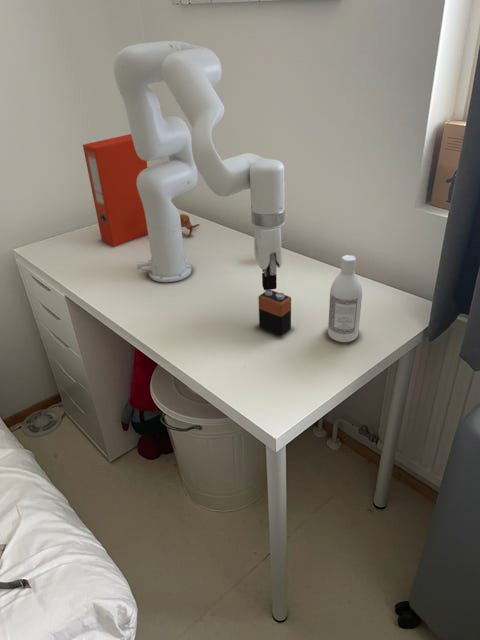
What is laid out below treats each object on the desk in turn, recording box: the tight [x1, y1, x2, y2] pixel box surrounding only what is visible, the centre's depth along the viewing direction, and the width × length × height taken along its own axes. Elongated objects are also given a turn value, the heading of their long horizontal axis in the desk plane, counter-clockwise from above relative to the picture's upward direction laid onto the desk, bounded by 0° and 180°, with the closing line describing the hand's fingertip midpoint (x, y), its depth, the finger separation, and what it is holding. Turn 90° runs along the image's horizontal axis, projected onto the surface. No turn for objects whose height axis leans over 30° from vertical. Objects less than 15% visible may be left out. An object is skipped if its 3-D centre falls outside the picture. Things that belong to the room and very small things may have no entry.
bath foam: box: [327, 254, 363, 343], centre depth 112 cm, size 7×7×20 cm
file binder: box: [82, 133, 149, 247], centre depth 166 cm, size 8×17×32 cm, turn 133°
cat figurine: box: [179, 213, 200, 237], centre depth 168 cm, size 18×7×14 cm, turn 141°
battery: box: [257, 289, 292, 337], centre depth 119 cm, size 4×7×10 cm, turn 50°
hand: (269, 288), depth 123 cm, fingers closed
